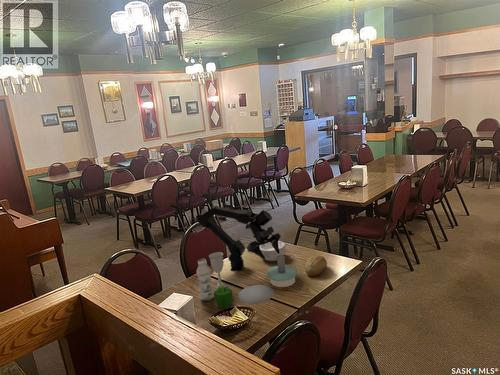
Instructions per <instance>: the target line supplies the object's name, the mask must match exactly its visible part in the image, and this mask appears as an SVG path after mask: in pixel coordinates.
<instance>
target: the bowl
mask: <svg viewBox="0 0 500 375" xmlns="http://www.w3.org/2000/svg"><path fill="white" fill-rule="evenodd" d="M269 279H270V278H269ZM295 283H296V276H295V277H294V278H292V279H290V280H286V281H275V280H272V279H270V284H272V286H274V287H277V288H287V287H290V286H291V287H292V285H293V284H295Z"/></svg>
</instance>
